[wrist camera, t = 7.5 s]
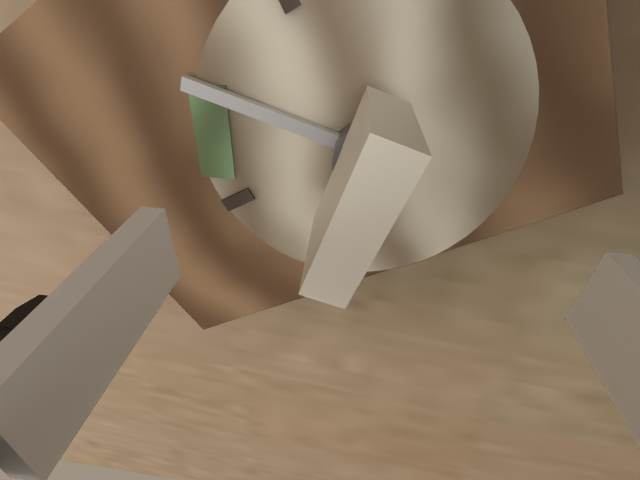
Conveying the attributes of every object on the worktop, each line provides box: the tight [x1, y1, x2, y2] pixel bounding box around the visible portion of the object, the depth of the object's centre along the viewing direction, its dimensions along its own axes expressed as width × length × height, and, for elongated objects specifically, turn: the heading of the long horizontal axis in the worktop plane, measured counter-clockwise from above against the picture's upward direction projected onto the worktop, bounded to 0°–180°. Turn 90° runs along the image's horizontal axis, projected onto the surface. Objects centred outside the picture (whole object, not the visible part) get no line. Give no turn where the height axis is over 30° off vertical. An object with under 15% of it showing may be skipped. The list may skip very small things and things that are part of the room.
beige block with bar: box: [180, 74, 432, 309], centre depth 16 cm, size 7×11×9 cm, turn 71°
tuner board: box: [0, 0, 623, 329], centre depth 21 cm, size 30×22×2 cm
